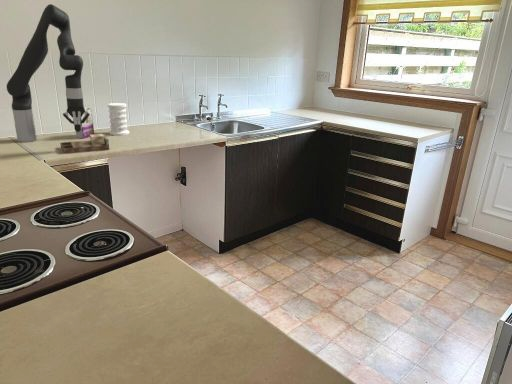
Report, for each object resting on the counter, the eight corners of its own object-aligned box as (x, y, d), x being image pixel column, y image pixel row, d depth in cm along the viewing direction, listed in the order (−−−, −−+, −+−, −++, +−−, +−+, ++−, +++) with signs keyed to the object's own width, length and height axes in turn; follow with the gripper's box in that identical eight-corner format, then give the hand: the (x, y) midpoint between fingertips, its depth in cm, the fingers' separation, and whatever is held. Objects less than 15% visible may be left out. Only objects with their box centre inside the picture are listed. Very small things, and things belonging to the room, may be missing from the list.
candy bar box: (87, 134, 236) (84, 107, 231) (94, 135, 235) (91, 107, 230) (75, 138, 226) (72, 109, 220) (83, 138, 225) (80, 110, 219)
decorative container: (121, 130, 249) (119, 102, 243) (133, 133, 243) (131, 104, 237) (105, 133, 240) (102, 103, 234) (117, 136, 234) (114, 106, 228)
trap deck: (63, 153, 194) (61, 142, 192) (60, 147, 205) (59, 137, 203) (109, 149, 205) (108, 139, 203) (104, 143, 216) (103, 134, 214)
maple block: (92, 144, 203) (91, 137, 202) (90, 142, 208) (89, 134, 207) (104, 143, 206) (103, 136, 205) (102, 141, 211) (101, 133, 210)
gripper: (60, 98, 188) (64, 133, 194) (89, 98, 194) (92, 132, 200) (59, 96, 194) (63, 130, 200) (88, 96, 200) (90, 129, 206)
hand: (78, 131), depth 200 cm, fingers closed
